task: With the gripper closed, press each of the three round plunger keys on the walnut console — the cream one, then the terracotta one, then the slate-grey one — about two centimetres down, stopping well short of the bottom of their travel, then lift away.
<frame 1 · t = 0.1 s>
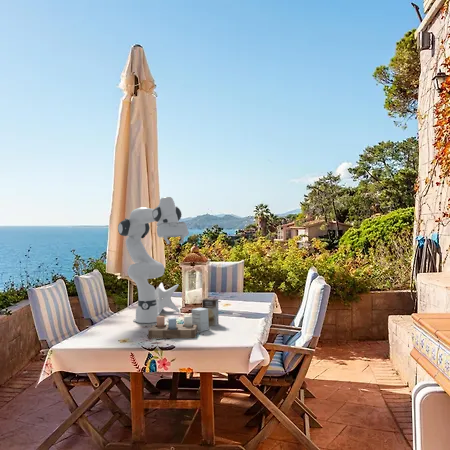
hand: (175, 243, 299), 52 cm above the table, tool tilted 20°, fingers open, 8 cm apart
key terracotta: (160, 321, 289), point 7 cm above the table, slide at 0.0 cm
key slate: (172, 324, 281), point 7 cm above the table, slide at 0.0 cm
starfish: (160, 312, 364), on the table
supplement box: (200, 330, 297), on the table
coffee box: (210, 325, 312), on the table
key cream: (188, 321, 288), point 7 cm above the table, slide at 0.0 cm
console: (173, 335, 285), on the table
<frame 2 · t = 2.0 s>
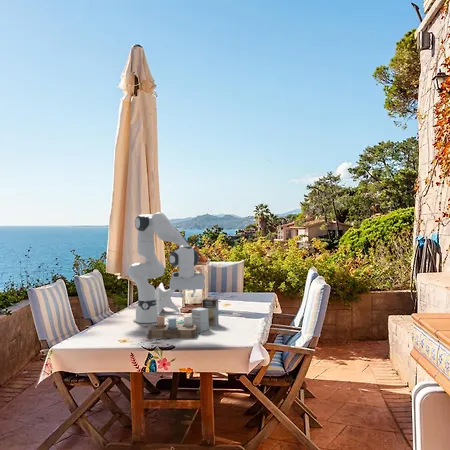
hand: (187, 297, 288), 21 cm above the table, tool pointing down, fingers open, 4 cm apart
nothing on the table moved.
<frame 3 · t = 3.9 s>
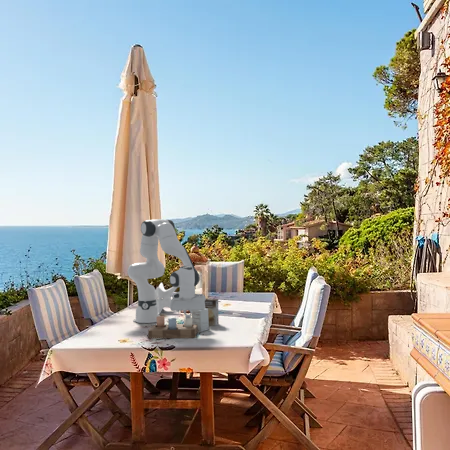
hand: (188, 318, 288), 9 cm above the table, tool pointing down, fingers closed, pressing on key cream
key cream: (188, 323, 288), point 6 cm above the table, slide at 1.0 cm, touching gripper
everything else where it was.
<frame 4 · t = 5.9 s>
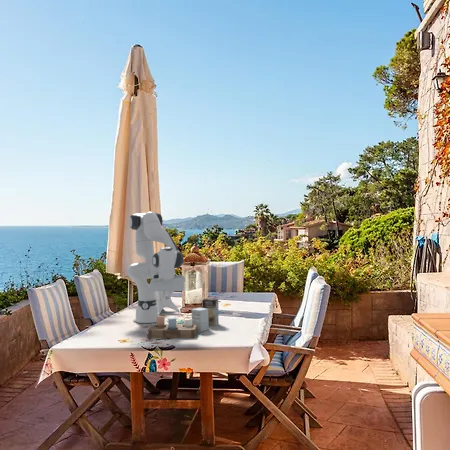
hand: (167, 298, 289), 20 cm above the table, tool pointing down, fingers closed
key cream: (188, 324, 288), point 5 cm above the table, slide at 1.9 cm
everything else where it was.
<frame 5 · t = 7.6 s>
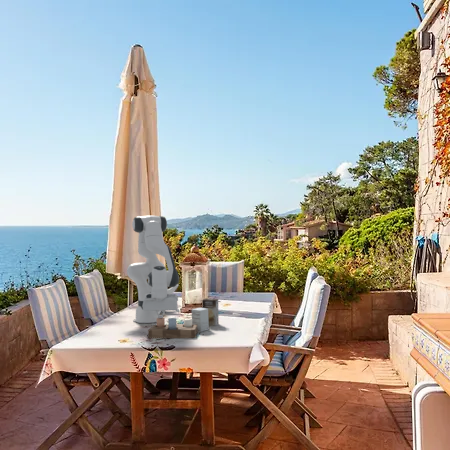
hand: (160, 318, 288), 9 cm above the table, tool pointing down, fingers closed, pressing on key terracotta
key terracotta: (160, 323, 289), point 6 cm above the table, slide at 0.9 cm, touching gripper
everything else where it was.
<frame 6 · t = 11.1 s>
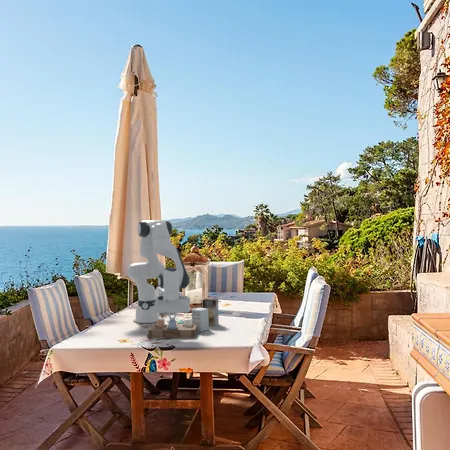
hand: (172, 320, 281), 9 cm above the table, tool pointing down, fingers closed, pressing on key slate
key terracotta: (160, 325, 289), point 5 cm above the table, slide at 1.9 cm
key slate: (172, 326, 281), point 6 cm above the table, slide at 1.1 cm, touching gripper
everything else where it was.
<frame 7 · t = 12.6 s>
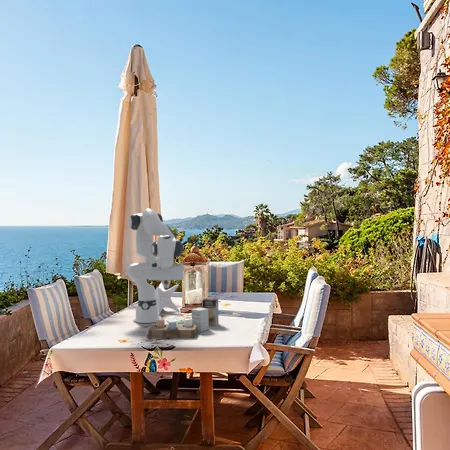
hand: (166, 288, 283), 27 cm above the table, tool pointing down, fingers closed
key slate: (172, 327, 281), point 5 cm above the table, slide at 1.9 cm
everything else where it was.
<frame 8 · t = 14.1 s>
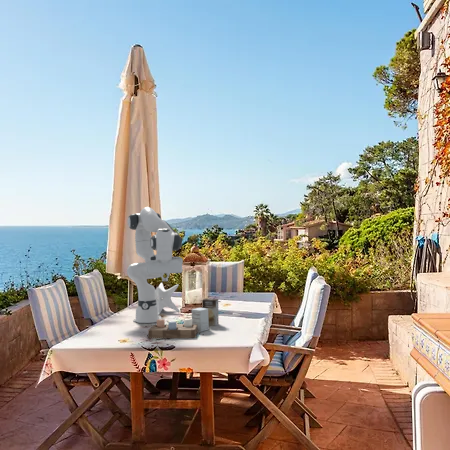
hand: (165, 281, 283), 31 cm above the table, tool pointing down, fingers closed
nothing on the table moved.
at the end: key cream slide at 1.9 cm; key terracotta slide at 1.9 cm; key slate slide at 1.9 cm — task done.
